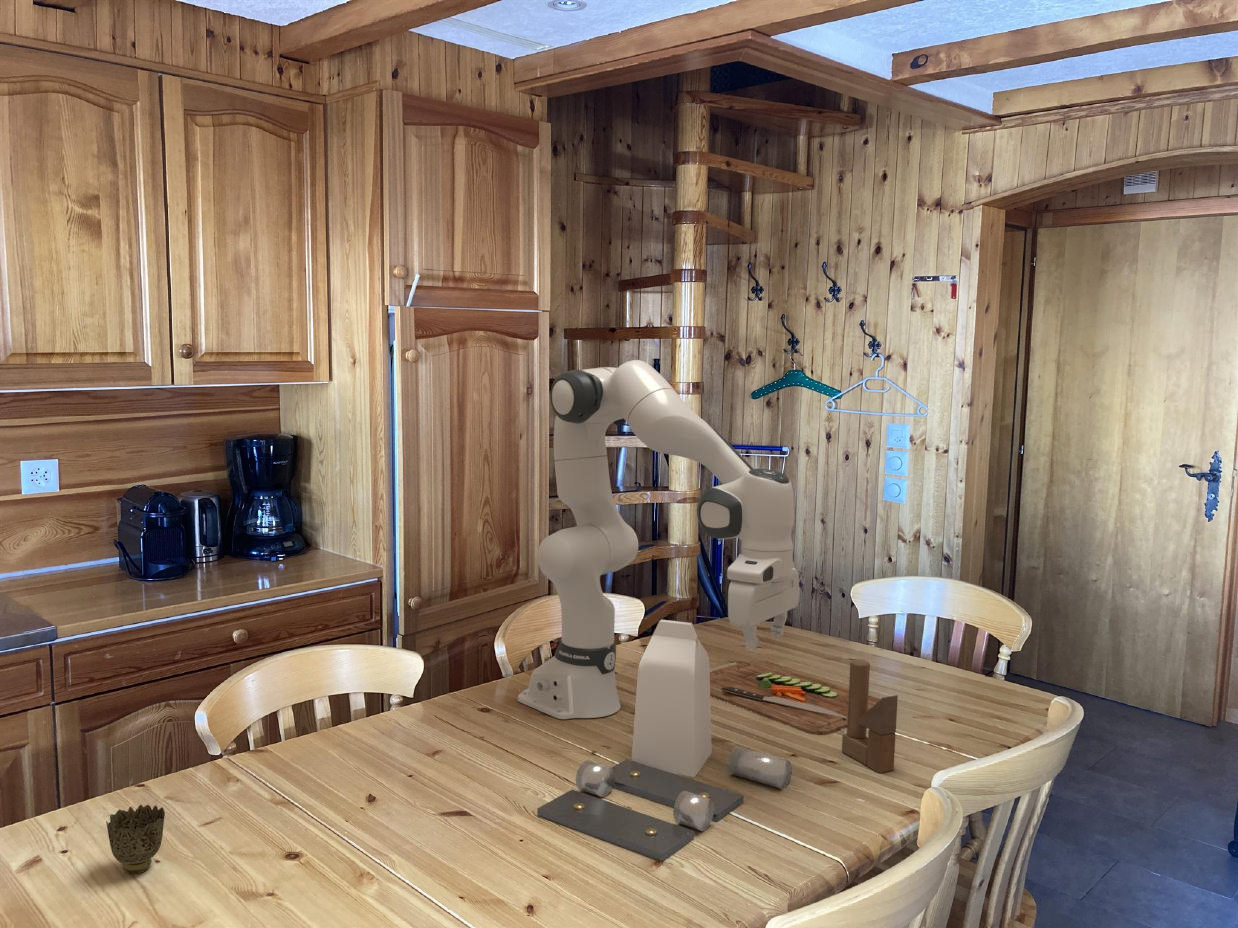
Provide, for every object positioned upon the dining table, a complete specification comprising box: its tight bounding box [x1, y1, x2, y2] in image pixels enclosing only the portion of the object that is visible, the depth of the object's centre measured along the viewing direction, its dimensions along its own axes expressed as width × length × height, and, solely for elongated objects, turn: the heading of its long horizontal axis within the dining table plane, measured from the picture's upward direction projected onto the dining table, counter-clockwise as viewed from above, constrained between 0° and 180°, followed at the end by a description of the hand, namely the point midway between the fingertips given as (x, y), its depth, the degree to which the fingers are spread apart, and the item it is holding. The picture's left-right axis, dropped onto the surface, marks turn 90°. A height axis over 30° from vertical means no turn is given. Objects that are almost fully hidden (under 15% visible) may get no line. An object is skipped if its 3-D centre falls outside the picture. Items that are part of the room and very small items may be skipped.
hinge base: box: [536, 759, 745, 863], centre depth 163 cm, size 24×25×5 cm
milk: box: [630, 619, 712, 778], centre depth 182 cm, size 12×12×26 cm
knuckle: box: [727, 745, 793, 790], centre depth 175 cm, size 10×5×5 cm, turn 54°
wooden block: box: [841, 659, 899, 774], centre depth 183 cm, size 4×11×18 cm, turn 26°
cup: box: [105, 804, 166, 874], centre depth 141 cm, size 8×7×8 cm
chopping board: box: [710, 660, 881, 736], centre depth 219 cm, size 45×27×3 cm, turn 41°
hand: (764, 642), depth 173 cm, fingers open, 8 cm apart
